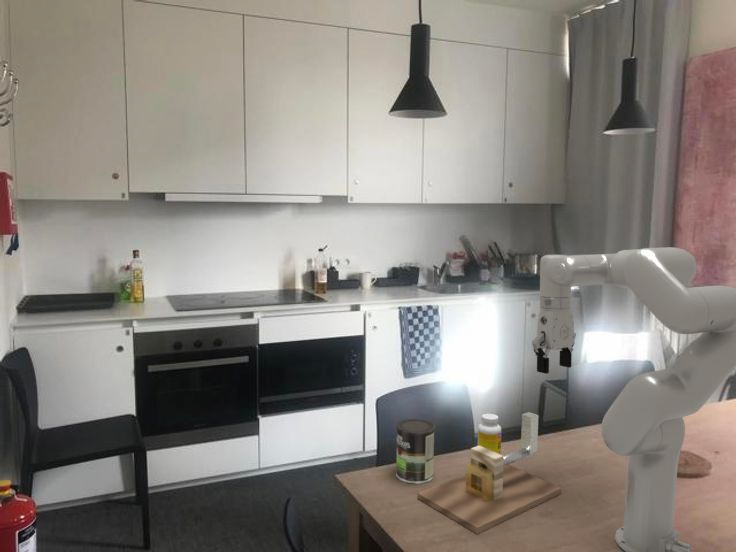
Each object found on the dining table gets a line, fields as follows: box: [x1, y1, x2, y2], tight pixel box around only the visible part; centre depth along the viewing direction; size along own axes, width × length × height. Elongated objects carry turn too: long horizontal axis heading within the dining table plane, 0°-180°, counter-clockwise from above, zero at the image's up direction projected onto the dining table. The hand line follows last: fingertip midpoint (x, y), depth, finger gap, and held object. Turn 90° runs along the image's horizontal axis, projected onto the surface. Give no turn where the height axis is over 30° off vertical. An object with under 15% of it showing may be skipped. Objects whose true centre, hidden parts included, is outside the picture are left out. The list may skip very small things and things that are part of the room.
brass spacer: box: [465, 461, 493, 502], centre depth 145 cm, size 7×2×7 cm, turn 37°
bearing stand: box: [416, 445, 562, 535], centre depth 148 cm, size 20×31×12 cm, turn 127°
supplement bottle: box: [477, 413, 502, 455], centre depth 169 cm, size 7×7×13 cm
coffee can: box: [395, 418, 436, 485], centre depth 159 cm, size 10×10×14 cm
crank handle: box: [483, 411, 539, 469], centre depth 152 cm, size 18×3×11 cm, turn 127°
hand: (554, 369), depth 151 cm, fingers open, 9 cm apart
